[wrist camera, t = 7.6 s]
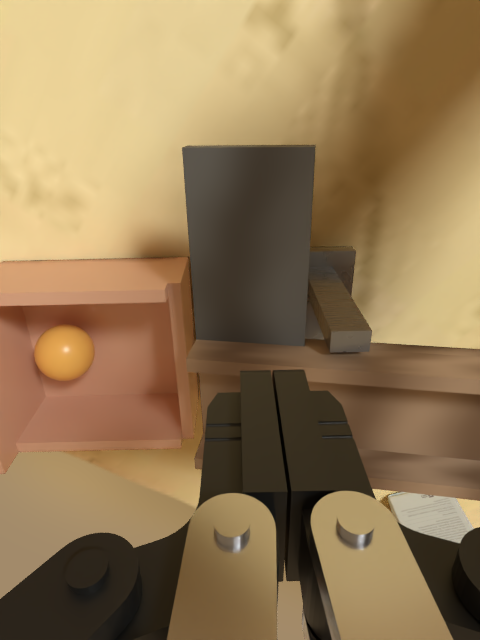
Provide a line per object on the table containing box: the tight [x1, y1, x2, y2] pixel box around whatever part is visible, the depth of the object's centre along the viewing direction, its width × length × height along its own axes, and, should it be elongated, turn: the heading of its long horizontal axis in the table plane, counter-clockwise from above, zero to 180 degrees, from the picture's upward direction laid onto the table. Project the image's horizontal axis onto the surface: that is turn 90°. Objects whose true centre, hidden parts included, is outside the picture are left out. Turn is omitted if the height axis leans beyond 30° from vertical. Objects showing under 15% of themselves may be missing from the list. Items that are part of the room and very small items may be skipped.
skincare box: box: [388, 492, 474, 543], centre depth 36 cm, size 8×6×15 cm
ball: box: [34, 324, 95, 381], centre depth 31 cm, size 4×4×4 cm
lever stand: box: [305, 246, 372, 353], centre depth 28 cm, size 5×13×10 cm, turn 1°
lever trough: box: [182, 145, 480, 501], centre depth 22 cm, size 20×18×3 cm
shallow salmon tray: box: [0, 257, 199, 474], centre depth 30 cm, size 12×13×8 cm
